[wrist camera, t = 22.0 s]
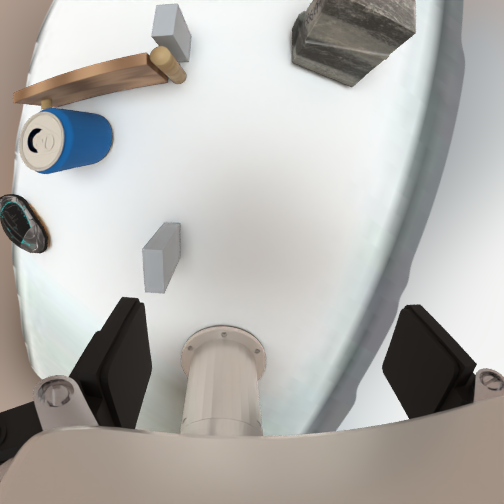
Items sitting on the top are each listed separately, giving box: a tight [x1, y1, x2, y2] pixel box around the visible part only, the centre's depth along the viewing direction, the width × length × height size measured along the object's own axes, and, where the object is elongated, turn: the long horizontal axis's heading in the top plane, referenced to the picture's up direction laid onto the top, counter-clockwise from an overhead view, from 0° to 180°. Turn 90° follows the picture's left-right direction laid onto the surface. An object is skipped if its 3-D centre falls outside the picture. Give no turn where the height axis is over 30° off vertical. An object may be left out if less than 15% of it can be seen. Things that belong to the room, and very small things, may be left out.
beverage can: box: [19, 108, 112, 174], centre depth 28 cm, size 6×6×12 cm
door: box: [14, 46, 186, 109], centre depth 27 cm, size 18×3×10 cm, turn 93°
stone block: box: [292, 0, 416, 87], centre depth 24 cm, size 9×14×5 cm
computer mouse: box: [0, 194, 48, 253], centre depth 34 cm, size 6×12×4 cm, turn 50°
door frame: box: [142, 4, 191, 293], centre depth 30 cm, size 28×2×10 cm, turn 176°
